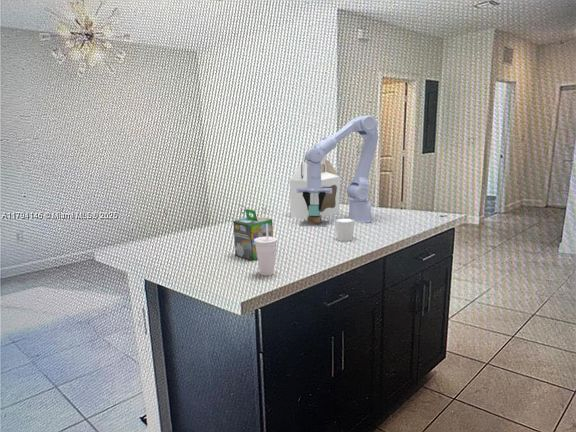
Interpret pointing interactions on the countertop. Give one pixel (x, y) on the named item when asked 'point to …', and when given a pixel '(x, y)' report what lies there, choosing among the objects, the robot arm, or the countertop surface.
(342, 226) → the white cylinder
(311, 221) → the walnut block
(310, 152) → the robot arm
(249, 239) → the green carry carton
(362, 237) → the countertop surface
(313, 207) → the teal cube
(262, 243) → the smoothie
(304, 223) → the build mat
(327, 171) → the gable box
